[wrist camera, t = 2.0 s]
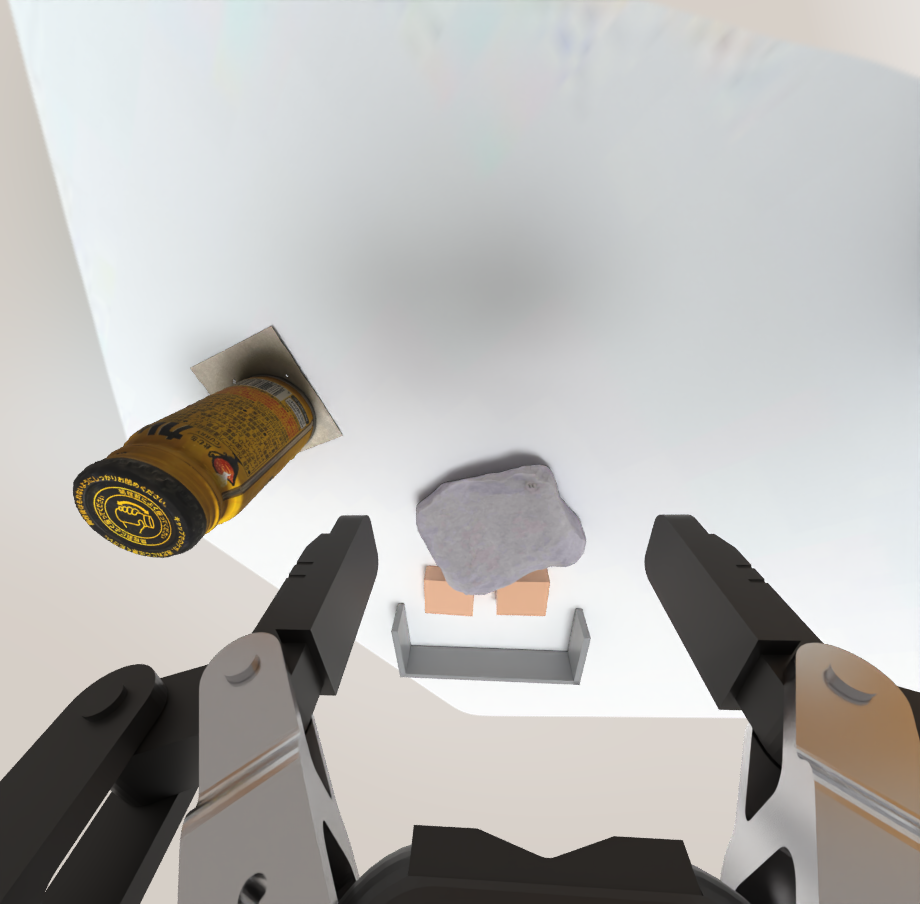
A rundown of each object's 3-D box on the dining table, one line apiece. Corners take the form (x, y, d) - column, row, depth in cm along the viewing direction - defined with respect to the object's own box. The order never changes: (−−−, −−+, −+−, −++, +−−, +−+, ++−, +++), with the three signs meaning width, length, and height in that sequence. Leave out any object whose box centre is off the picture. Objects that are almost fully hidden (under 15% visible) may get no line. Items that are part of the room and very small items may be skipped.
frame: (398, 603, 35) (391, 631, 32) (582, 609, 34) (590, 638, 31) (406, 648, 38) (400, 676, 36) (572, 654, 37) (579, 684, 35)
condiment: (267, 464, 28) (136, 587, 17) (191, 367, 24) (-34, 447, 14) (343, 434, 26) (249, 550, 15) (274, 324, 22) (89, 378, 12)
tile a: (427, 562, 32) (424, 579, 31) (475, 565, 32) (474, 583, 30) (428, 595, 35) (425, 612, 33) (473, 598, 34) (472, 616, 33)
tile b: (496, 563, 32) (497, 581, 30) (546, 564, 32) (549, 582, 30) (495, 596, 34) (496, 614, 32) (542, 597, 34) (545, 616, 32)
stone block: (411, 487, 30) (463, 576, 32) (394, 513, 26) (457, 615, 28) (537, 429, 27) (585, 531, 30) (543, 446, 23) (600, 565, 25)
